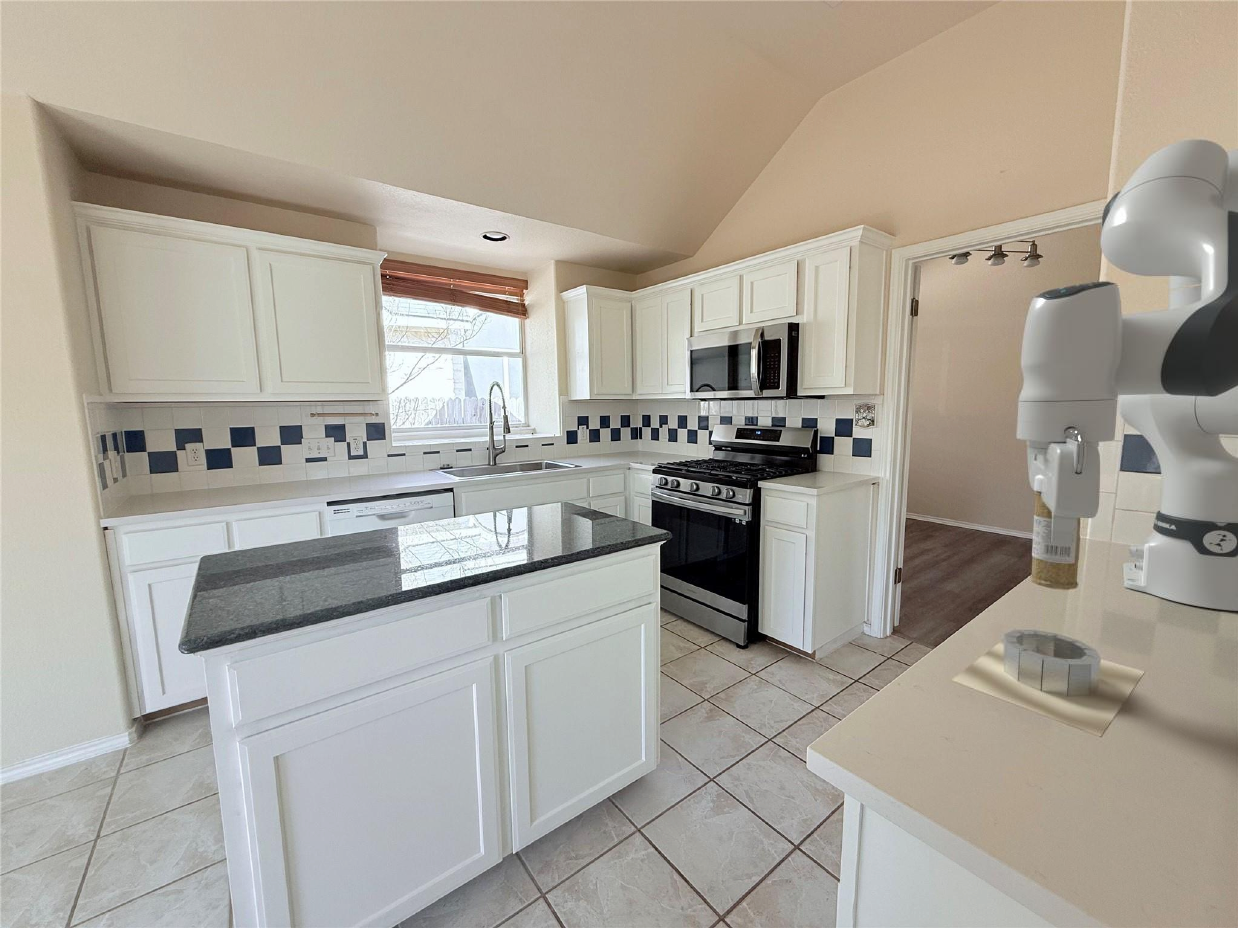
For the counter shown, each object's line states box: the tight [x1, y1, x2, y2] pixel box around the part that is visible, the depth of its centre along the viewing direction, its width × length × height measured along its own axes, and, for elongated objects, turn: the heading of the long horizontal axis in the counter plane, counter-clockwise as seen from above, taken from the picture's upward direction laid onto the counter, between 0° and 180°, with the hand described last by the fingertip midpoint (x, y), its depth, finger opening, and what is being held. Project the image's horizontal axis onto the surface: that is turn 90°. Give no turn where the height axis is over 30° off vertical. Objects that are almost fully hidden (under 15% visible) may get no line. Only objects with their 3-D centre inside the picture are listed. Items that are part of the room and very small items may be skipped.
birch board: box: [950, 638, 1145, 738], centre depth 65 cm, size 20×14×1 cm
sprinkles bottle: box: [1029, 475, 1082, 591], centre depth 62 cm, size 5×5×14 cm
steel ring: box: [1003, 629, 1102, 697], centre depth 64 cm, size 9×9×4 cm
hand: (1056, 538), depth 62 cm, fingers closed on sprinkles bottle, 4 cm apart
